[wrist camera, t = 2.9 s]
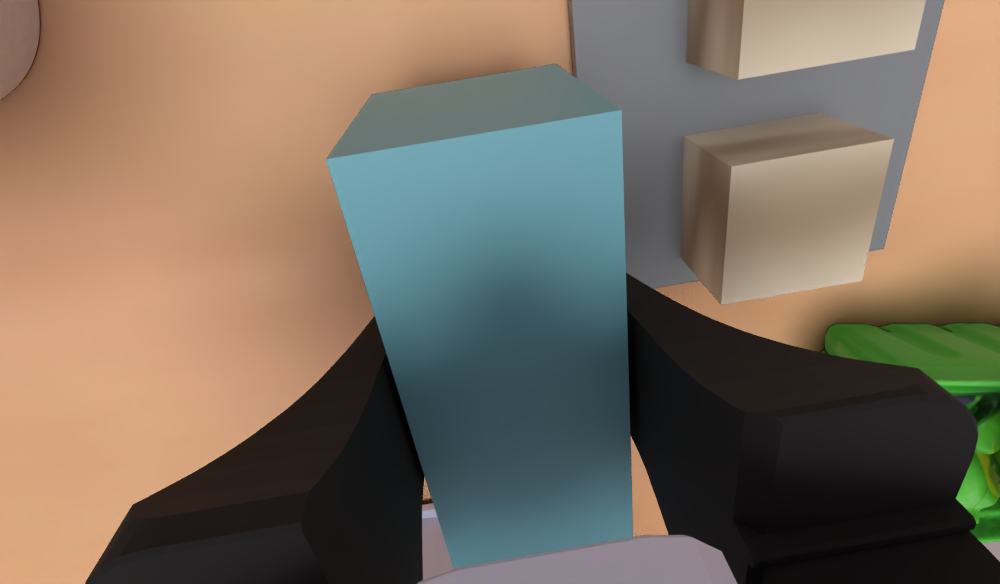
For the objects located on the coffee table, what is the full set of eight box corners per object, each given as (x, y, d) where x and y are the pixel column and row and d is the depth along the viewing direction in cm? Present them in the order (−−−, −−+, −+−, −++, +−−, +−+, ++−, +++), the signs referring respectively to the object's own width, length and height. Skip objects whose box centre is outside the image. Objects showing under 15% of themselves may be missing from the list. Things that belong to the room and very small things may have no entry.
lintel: (585, 410, 16) (633, 561, 12) (456, 431, 16) (460, 590, 12) (555, 63, 11) (621, 110, 7) (371, 94, 11) (326, 159, 7)
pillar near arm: (800, 237, 18) (861, 281, 15) (680, 257, 18) (720, 304, 15) (819, 113, 16) (894, 138, 13) (684, 136, 16) (731, 166, 13)
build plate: (873, 242, 18) (883, 249, 18) (588, 291, 18) (592, 298, 18) (981, -221, 12) (1000, -228, 12) (557, -149, 12) (561, -153, 12)
